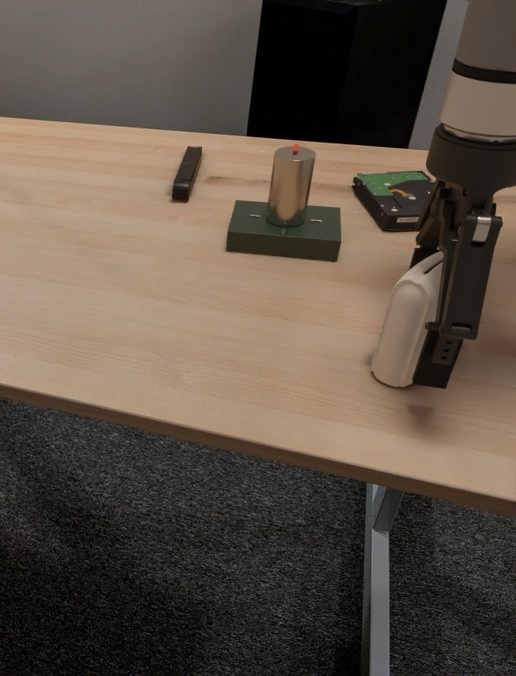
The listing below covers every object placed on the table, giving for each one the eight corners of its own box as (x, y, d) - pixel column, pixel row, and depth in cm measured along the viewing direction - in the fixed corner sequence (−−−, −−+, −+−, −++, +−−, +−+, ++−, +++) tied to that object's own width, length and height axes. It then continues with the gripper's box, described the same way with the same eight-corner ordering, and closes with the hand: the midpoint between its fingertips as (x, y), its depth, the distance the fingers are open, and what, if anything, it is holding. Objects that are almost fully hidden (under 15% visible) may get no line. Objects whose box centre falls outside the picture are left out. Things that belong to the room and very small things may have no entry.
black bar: (188, 203, 100) (189, 184, 98) (171, 202, 101) (171, 183, 99) (202, 160, 114) (203, 144, 112) (187, 160, 114) (188, 143, 113)
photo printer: (421, 335, 70) (454, 230, 63) (460, 354, 67) (501, 246, 60) (362, 373, 65) (390, 265, 58) (401, 395, 62) (437, 284, 55)
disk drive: (461, 230, 88) (417, 186, 100) (468, 212, 86) (422, 168, 98) (383, 233, 89) (348, 188, 101) (388, 215, 87) (352, 171, 99)
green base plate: (336, 227, 91) (340, 206, 89) (337, 261, 83) (341, 239, 81) (233, 218, 95) (236, 198, 93) (225, 251, 87) (227, 229, 85)
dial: (303, 228, 85) (315, 159, 79) (264, 225, 86) (273, 156, 81) (305, 212, 88) (317, 145, 83) (267, 209, 90) (276, 142, 84)
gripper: (592, 193, 41) (486, 434, 54) (509, 84, 60) (445, 281, 73) (459, 185, 44) (387, 418, 56) (420, 83, 63) (373, 274, 75)
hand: (420, 341), depth 64 cm, fingers open, 13 cm apart
